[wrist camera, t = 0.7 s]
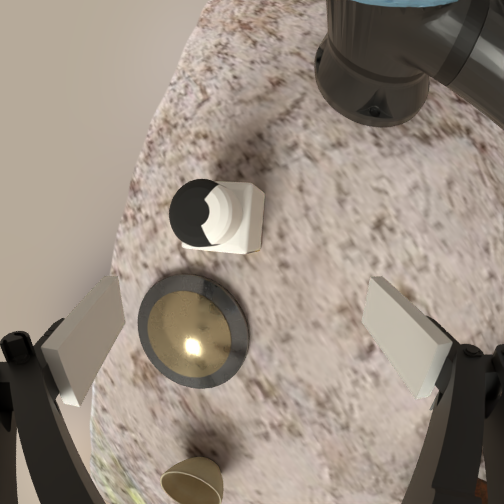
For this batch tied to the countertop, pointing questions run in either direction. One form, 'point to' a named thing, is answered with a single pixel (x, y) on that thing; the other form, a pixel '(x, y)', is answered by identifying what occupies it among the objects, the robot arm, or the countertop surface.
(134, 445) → the countertop surface
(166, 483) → the flower pot
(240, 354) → the plate
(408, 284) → the countertop surface
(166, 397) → the countertop surface
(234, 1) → the countertop surface
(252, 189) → the medicine bottle
